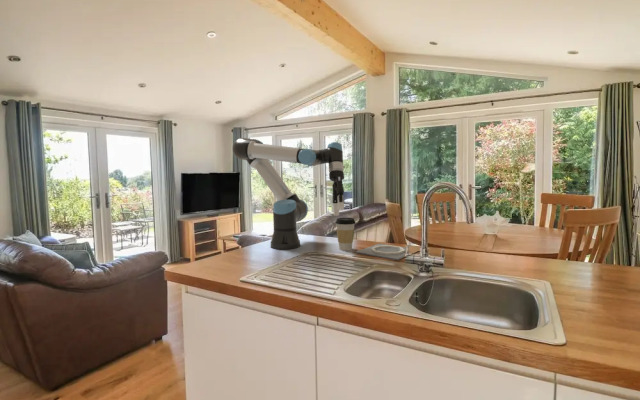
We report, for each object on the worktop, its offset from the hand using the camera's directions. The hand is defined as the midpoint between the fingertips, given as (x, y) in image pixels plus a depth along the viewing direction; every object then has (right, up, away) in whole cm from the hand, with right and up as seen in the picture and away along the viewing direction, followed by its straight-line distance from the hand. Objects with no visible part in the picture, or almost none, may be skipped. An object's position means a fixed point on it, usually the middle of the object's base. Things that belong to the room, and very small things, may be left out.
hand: (338, 212), depth 172 cm
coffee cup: (+3, -18, 0) cm, 18 cm away
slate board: (+23, -18, -7) cm, 30 cm away
